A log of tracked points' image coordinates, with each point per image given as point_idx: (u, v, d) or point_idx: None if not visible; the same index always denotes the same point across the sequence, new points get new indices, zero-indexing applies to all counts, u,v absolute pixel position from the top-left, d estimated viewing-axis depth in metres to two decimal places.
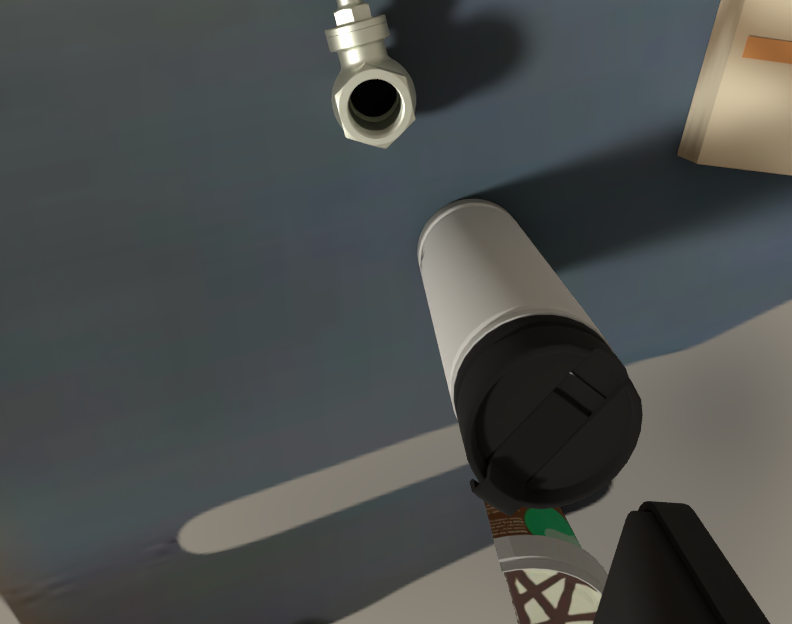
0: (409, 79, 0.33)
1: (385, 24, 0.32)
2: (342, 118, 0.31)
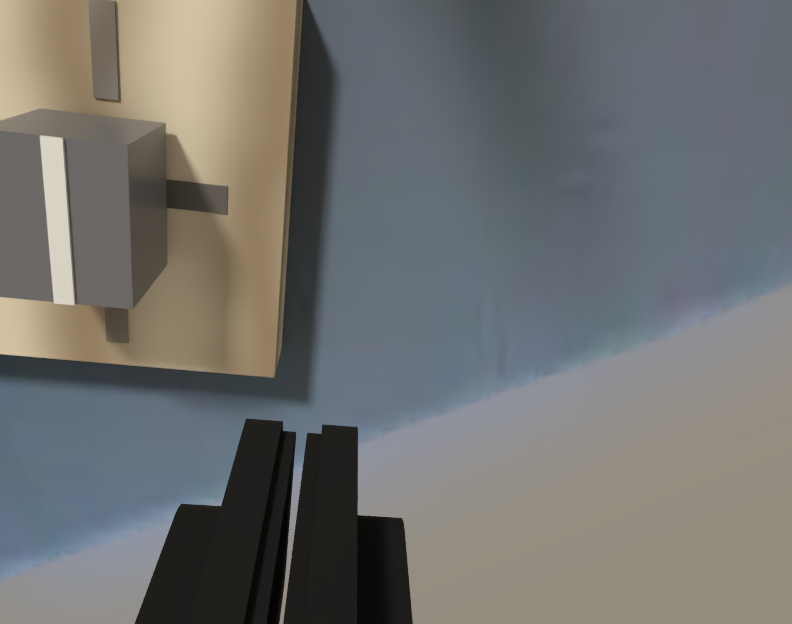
0: None
1: None
2: None
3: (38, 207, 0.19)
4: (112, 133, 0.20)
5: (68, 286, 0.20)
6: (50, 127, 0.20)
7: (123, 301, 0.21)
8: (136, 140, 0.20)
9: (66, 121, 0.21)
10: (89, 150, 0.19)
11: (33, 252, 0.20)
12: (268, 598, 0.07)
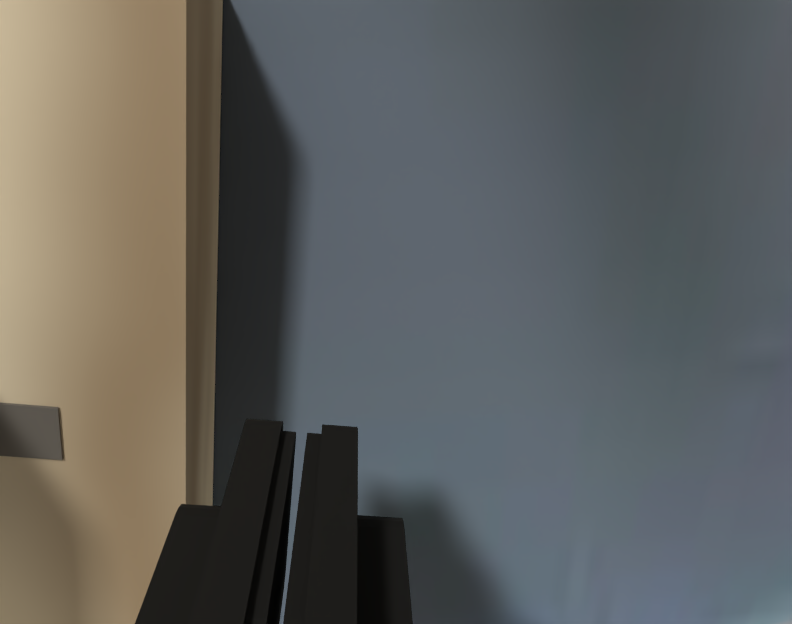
0: None
1: None
2: None
3: None
4: None
5: None
6: None
7: None
8: None
9: None
10: None
11: None
12: (268, 598, 0.07)
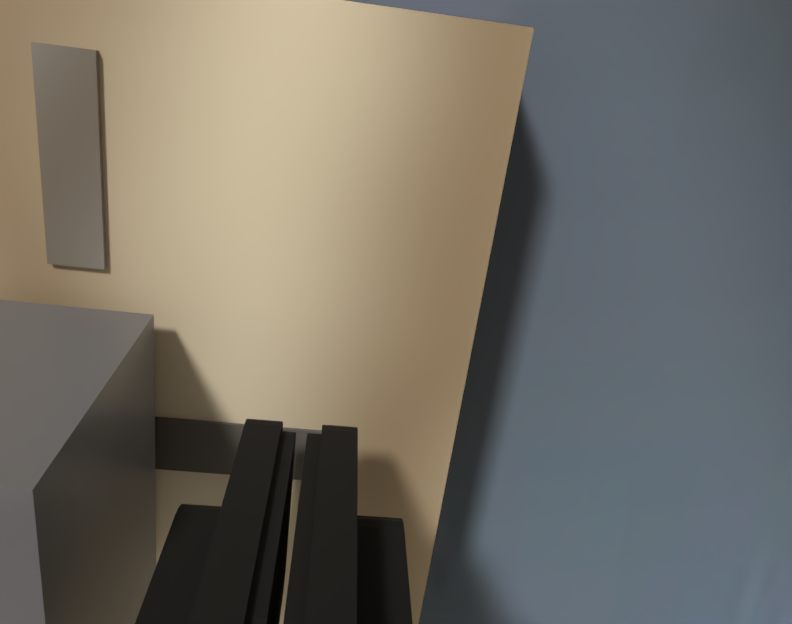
0: None
1: None
2: None
3: None
4: (5, 407, 0.07)
5: None
6: None
7: None
8: (67, 441, 0.07)
9: None
10: None
11: None
12: (268, 598, 0.07)
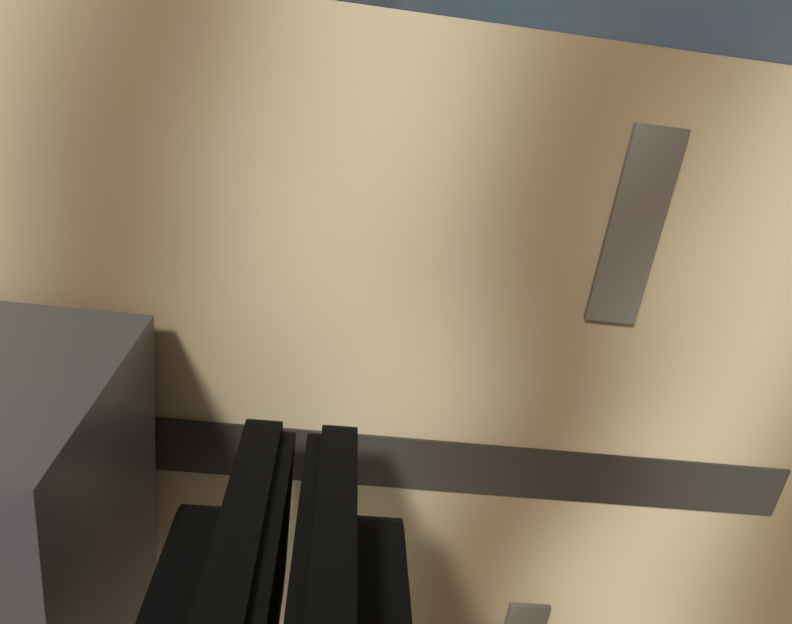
0: None
1: None
2: None
3: None
4: (6, 407, 0.07)
5: None
6: None
7: None
8: (68, 442, 0.07)
9: None
10: None
11: None
12: (268, 598, 0.07)
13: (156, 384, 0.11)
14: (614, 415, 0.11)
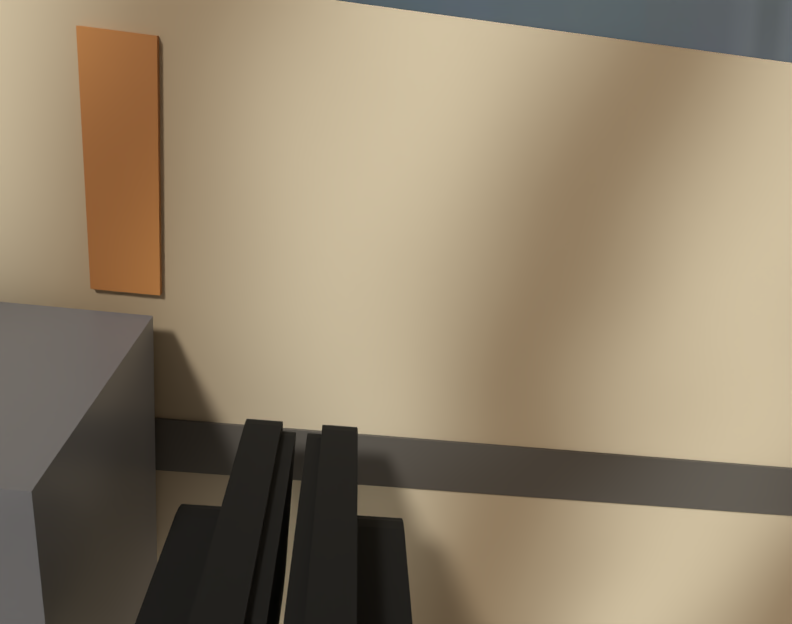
0: None
1: None
2: None
3: None
4: (5, 408, 0.07)
5: None
6: None
7: None
8: (67, 443, 0.07)
9: None
10: None
11: None
12: (268, 598, 0.07)
13: (561, 418, 0.11)
14: None
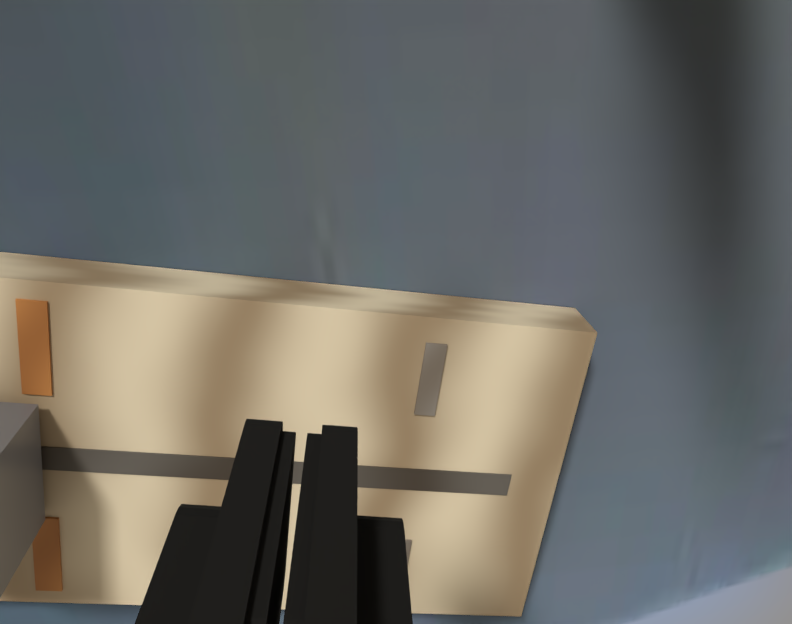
0: None
1: None
2: None
3: None
4: None
5: None
6: None
7: None
8: None
9: None
10: None
11: None
12: (268, 598, 0.07)
13: (236, 444, 0.26)
14: (431, 452, 0.27)
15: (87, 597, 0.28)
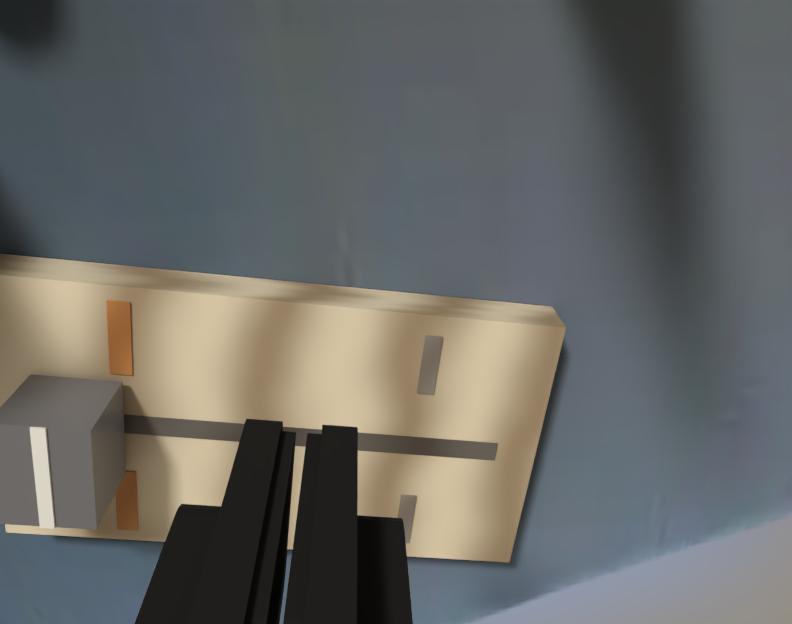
0: None
1: None
2: None
3: (28, 469, 0.28)
4: (81, 411, 0.28)
5: (50, 517, 0.29)
6: (37, 410, 0.28)
7: (89, 524, 0.29)
8: (97, 420, 0.28)
9: (49, 396, 0.29)
10: (63, 434, 0.27)
11: (24, 496, 0.28)
12: (268, 598, 0.07)
13: (275, 415, 0.32)
14: (431, 424, 0.33)
15: (156, 536, 0.35)
